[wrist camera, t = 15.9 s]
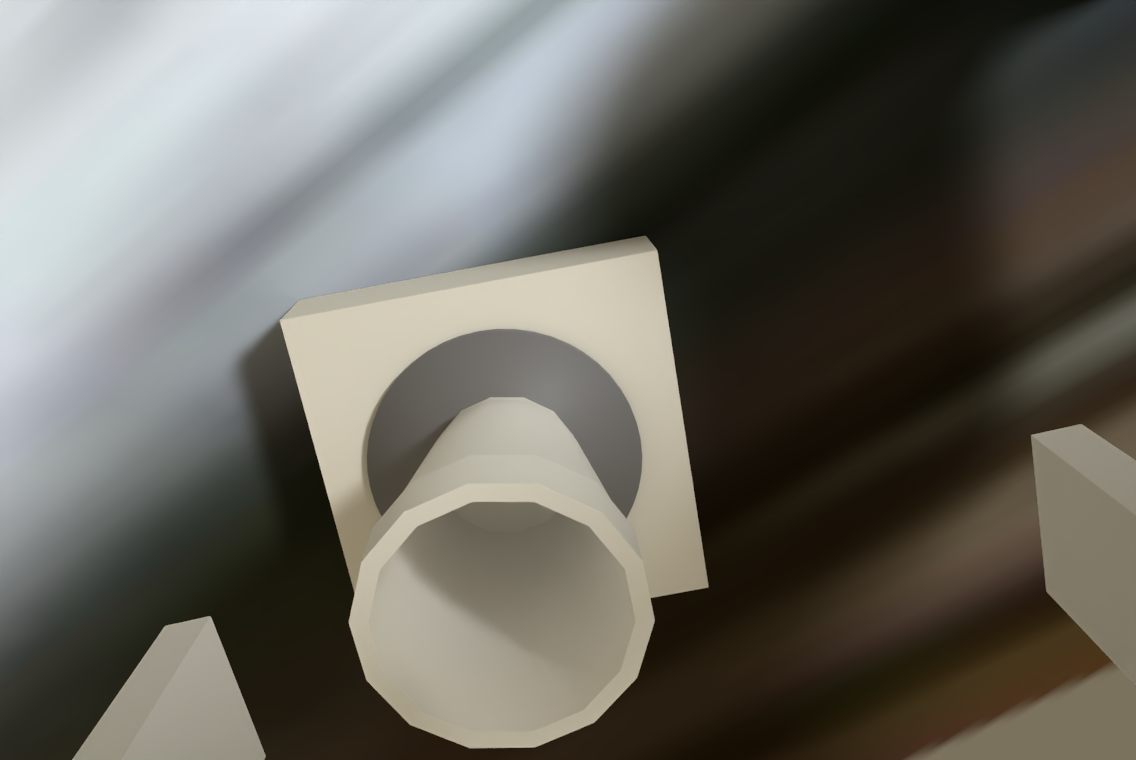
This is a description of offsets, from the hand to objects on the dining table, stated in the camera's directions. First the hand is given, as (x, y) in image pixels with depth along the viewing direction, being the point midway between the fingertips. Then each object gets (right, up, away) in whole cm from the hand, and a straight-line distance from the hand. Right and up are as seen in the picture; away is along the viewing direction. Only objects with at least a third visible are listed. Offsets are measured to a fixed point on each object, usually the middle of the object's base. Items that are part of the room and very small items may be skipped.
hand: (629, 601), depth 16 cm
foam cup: (-4, 0, +28) cm, 28 cm away
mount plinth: (-4, +1, +32) cm, 32 cm away
